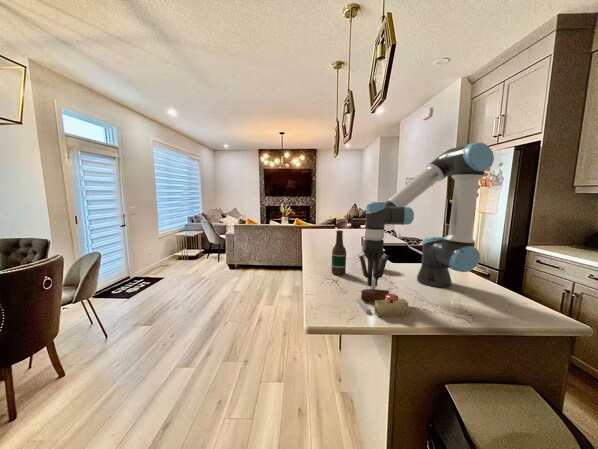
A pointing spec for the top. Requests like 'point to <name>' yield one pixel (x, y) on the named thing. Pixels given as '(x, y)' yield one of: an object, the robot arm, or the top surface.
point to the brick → (373, 295)
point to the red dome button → (391, 306)
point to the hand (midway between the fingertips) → (371, 293)
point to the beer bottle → (339, 255)
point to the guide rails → (369, 308)
